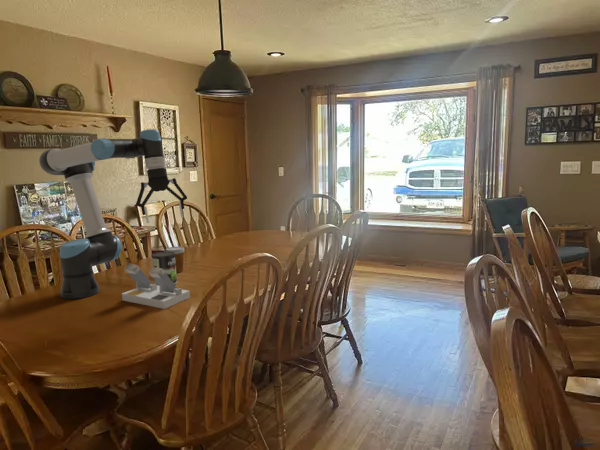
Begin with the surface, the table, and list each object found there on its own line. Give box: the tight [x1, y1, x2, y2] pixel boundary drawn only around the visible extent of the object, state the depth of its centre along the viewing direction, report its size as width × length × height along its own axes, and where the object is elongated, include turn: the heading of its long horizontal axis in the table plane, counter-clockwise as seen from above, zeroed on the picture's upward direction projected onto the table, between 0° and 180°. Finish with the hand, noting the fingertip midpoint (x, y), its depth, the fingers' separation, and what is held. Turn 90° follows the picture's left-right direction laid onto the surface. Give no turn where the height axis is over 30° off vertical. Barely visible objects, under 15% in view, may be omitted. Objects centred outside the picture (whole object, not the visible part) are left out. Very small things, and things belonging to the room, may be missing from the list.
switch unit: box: [121, 282, 191, 310], centre depth 179 cm, size 24×14×5 cm, turn 61°
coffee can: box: [151, 251, 178, 286], centre depth 200 cm, size 10×10×14 cm
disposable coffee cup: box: [164, 245, 185, 274], centre depth 220 cm, size 10×10×12 cm
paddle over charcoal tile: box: [148, 266, 178, 293], centre depth 173 cm, size 7×3×13 cm
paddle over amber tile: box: [124, 263, 154, 289], centre depth 180 cm, size 7×3×13 cm
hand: (165, 220), depth 178 cm, fingers open, 13 cm apart
